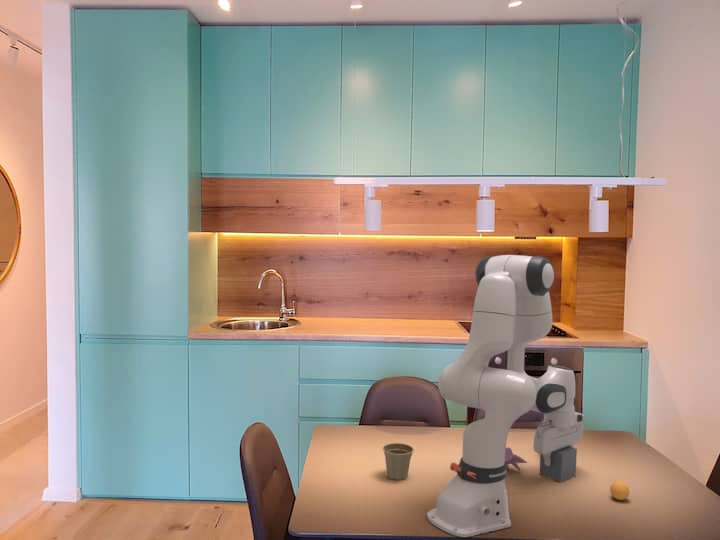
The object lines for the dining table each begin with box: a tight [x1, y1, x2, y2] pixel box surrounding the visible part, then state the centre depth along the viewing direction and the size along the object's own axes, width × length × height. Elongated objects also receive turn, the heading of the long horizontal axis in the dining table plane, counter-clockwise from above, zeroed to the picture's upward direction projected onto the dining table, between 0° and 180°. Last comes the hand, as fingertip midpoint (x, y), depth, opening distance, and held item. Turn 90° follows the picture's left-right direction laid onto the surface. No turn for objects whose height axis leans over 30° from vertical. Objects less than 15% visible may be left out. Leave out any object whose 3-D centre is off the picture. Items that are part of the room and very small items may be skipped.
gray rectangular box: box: [539, 446, 578, 483], centre depth 185 cm, size 8×8×9 cm
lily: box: [505, 446, 528, 472], centre depth 188 cm, size 12×12×10 cm
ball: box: [609, 480, 630, 501], centre depth 169 cm, size 5×5×5 cm
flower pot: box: [382, 442, 415, 481], centre depth 182 cm, size 9×9×9 cm
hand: (557, 461), depth 185 cm, fingers open, 8 cm apart
